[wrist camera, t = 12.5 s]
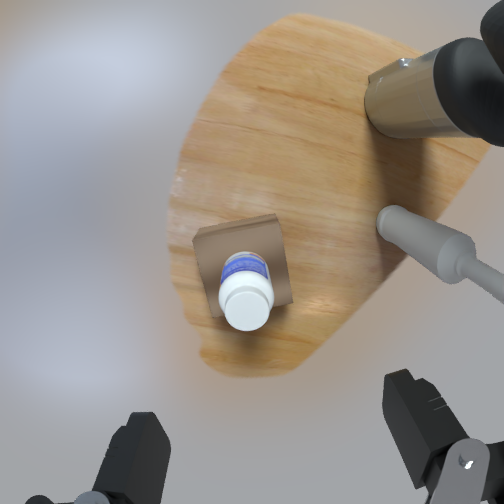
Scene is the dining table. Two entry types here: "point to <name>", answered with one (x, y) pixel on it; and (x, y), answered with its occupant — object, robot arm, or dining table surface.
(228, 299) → the pill bottle
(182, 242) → the dining table surface
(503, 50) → the robot arm
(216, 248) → the walnut block
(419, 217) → the bottle
